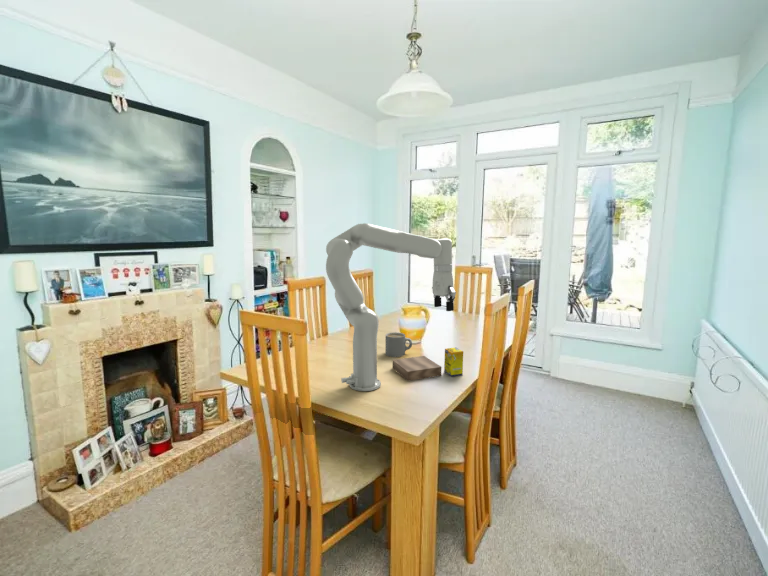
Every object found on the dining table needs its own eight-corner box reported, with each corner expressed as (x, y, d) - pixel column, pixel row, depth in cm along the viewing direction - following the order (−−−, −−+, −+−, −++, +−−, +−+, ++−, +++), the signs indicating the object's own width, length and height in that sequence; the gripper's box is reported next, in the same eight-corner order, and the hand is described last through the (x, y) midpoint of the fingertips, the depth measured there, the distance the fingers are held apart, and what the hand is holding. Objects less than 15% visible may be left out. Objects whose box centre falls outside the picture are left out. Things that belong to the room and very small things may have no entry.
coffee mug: (384, 356, 190) (384, 337, 188) (386, 350, 199) (387, 332, 198) (410, 357, 188) (411, 338, 186) (412, 351, 197) (412, 333, 196)
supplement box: (443, 372, 168) (444, 348, 166) (455, 370, 170) (456, 347, 168) (450, 377, 162) (451, 352, 161) (462, 375, 164) (463, 350, 163)
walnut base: (407, 380, 158) (407, 371, 158) (392, 368, 173) (392, 359, 172) (441, 375, 164) (441, 366, 163) (423, 364, 179) (424, 355, 178)
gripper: (425, 267, 165) (426, 306, 167) (446, 271, 149) (446, 313, 152) (440, 266, 168) (441, 304, 170) (462, 269, 152) (462, 311, 154)
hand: (443, 308), depth 161 cm, fingers open, 9 cm apart
